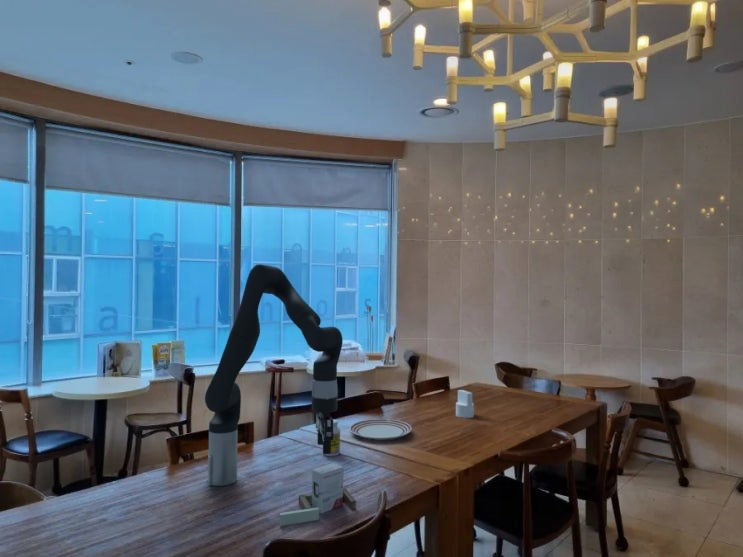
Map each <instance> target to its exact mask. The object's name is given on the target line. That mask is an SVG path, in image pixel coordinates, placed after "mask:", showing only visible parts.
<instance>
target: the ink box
mask: <svg viewBox="0 0 743 557" xmlns="http://www.w3.org/2000/svg"><path fill="white" fill-rule="evenodd" d="M311 473H312V474H311V476H312V477H311V479H312V480H311V481H312V483H311V493H312V504H311V508H317V507H318V508H319V514H324V513H327V512H328V511H329V512H330V511H331V510H334V509H336V508H339V507H341V506H343V504H344V500H343V489H344V467H343V466H341V465H339V464H337V463H334V462H333V463H329V464H326V465H322V466H320V467H316V468H313V469H312V472H311Z"/></svg>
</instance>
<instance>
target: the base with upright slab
mask: <svg viewBox="0 0 743 557" xmlns="http://www.w3.org/2000/svg"><path fill="white" fill-rule="evenodd" d="M455 416H456V417H458V418H462V417H463V419H470V418H471V419H472V418H474V416H475V403H473V392H471V391H467V390H464V389H458V390H457V401H456V402H455Z"/></svg>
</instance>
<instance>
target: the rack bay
mask: <svg viewBox="0 0 743 557" xmlns="http://www.w3.org/2000/svg"><path fill="white" fill-rule="evenodd" d="M343 502H344V503H345V505H346V506H347V507H348V508H349V510H351V511H352V510H356V509H357V500H356V499H355V498H354V497H353V495H352V494H351V493H350V491H349V490H348V489H347V488H343ZM298 505H299V507H300V508H301V509H300V510H304V509H311V508H312V492H311V493H306V494H298Z"/></svg>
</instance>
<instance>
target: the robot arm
mask: <svg viewBox="0 0 743 557" xmlns="http://www.w3.org/2000/svg"><path fill="white" fill-rule="evenodd" d="M264 294H267V295H273V296H275V297H276V298H278V299H279V300H280V301H281V302H282V303H283V305H284V307H285V312H286V315H287V316H288V318H289V319H290V320H291V322H292V323H293V324H294V325H295V326H296V328H298V329H299V330H300V332H301V333H302V336H303V338H304V339H305V342H306V344H307V345H308V346H309V348H310V349H312V350H313V351H314V352H317V353H321V356H320V357H319V358H317V359H316V360H315V361H313V365H312V366H313V367H312V386H311V410H312V411H313V412H315V429H316V433H317V439H316V440H317V445H318V446H322V454H323V455H324V454H330V453H331V441H333V417H331V413H334V412H336V411H337V410H338V380H337V379H338V378H337V377H338V369H337V368H338V363H339V360H340V356H341V352H342V347H343V335H342V333H341V330H340V329H339V328H338V327H335V326H325V327H323V326H322V327H321V326H320V325H321V321H322V320H321V317H320V315H319V314H318V313H317V312H316V311H315V310H314V309H313V308H312V307H311V306H310V305H309V304H308V303H307V302H306V301H305V300H304V299H303V298H302V297H301V295H300V294H299V292H298V291H297V290H296V288H294V285H293V284H292V283H291V282H290V280H289V279H288V277H287V275H286V274H285V273H284V272H283V270H282V269H280V267H279V268H278V267H276V266H272V265H268V264H263V263H258V264H255V265H254V266H253V267H252V268H251V269H250V271H249V273H248V275H247V278H246V282H245V285H244V291H243V292H242V298H241V301H240V305H239V308H238V311H237V313H236V316H235V320H234V322H233V324H232V327H231V330H230V332H229V335H228V337H227V341H226V344H225V347H224V349H223V352H222V355H221V358H220V361H219V364H218V366H217V368H216V370H215V372H214V374H213V376H212V379H211V380H210V383H209V384H208V387H207V389H206V392H205V394H204V403H205V405H206V407H207V409H208V410H209V411H210V412H213V413H214V414H213V416H212V418H211V420H210V421H209V423H208V452H207V482H208V486H209V487H211V486H214V487H215V486H216V487H224V486H228V485H232V484H234V483H236V482H237V480H238V426H239V421H240V417H241V407H242V406H241V404H242V395H241V394H242V393H241V389H240V386H239V384H238V383H237V382H236V380H237V378H238V376H239V373H240V372H241V371H242V369H243V368H244V367H245V365H246V364H247V362H248V361H249V359H250V358H251V356H252V354H253V353H254V351H255V349H256V346H257V343H258V341H259V337H260V333H261V325H260V318H259V307H260V302H261V301H262V300H261V299H262V297H263V295H264ZM326 434H329V436H327V437H326Z"/></svg>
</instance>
